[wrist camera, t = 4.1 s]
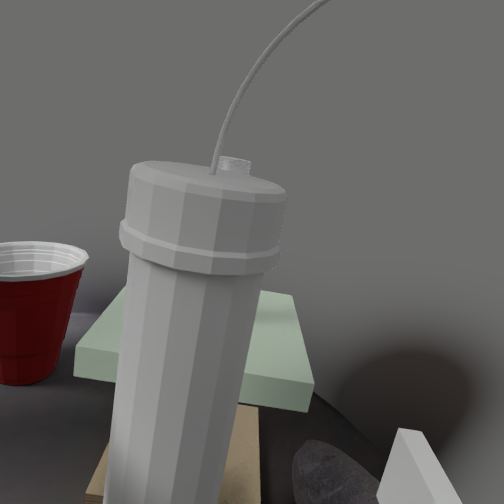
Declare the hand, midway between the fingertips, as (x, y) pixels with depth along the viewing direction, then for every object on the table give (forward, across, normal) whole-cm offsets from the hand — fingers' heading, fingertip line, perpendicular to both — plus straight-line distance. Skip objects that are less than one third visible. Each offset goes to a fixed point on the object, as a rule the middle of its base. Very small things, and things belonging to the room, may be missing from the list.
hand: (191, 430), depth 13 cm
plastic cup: (+25, -18, -17) cm, 35 cm away
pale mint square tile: (+17, -1, -6) cm, 18 cm away
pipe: (+3, 0, -17) cm, 17 cm away
